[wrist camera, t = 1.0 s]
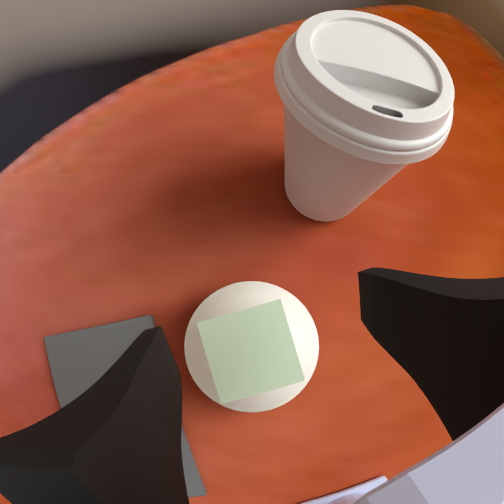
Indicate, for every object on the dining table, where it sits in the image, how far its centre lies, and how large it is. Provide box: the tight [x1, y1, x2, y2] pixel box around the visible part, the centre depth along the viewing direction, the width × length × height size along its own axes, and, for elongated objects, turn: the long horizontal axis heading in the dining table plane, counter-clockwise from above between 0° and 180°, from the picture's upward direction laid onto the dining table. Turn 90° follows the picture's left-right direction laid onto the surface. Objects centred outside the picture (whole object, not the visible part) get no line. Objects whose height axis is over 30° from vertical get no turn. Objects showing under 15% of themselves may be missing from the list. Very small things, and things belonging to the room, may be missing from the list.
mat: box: [44, 315, 207, 497], centre depth 21 cm, size 16×11×1 cm
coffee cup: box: [274, 10, 454, 222], centre depth 19 cm, size 10×10×15 cm
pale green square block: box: [197, 299, 305, 404], centre depth 19 cm, size 5×5×3 cm
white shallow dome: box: [184, 281, 319, 412], centre depth 22 cm, size 9×9×3 cm
